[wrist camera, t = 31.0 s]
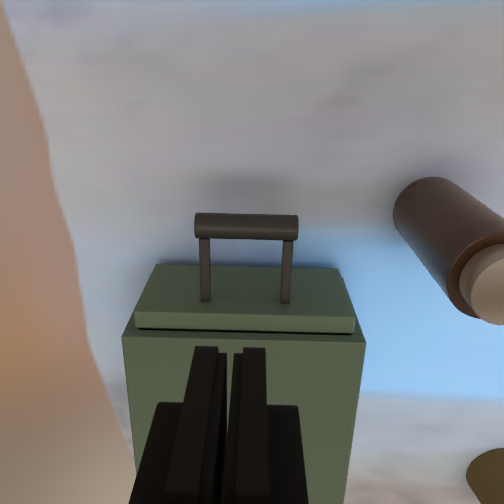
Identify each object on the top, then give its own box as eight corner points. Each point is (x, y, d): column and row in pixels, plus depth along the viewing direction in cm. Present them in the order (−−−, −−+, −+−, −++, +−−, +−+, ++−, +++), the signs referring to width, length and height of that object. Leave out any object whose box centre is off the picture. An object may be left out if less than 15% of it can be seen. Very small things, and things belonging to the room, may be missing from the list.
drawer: (150, 187, 32) (124, 221, 26) (346, 192, 32) (367, 227, 26) (167, 424, 41) (150, 493, 34) (321, 429, 41) (332, 498, 34)
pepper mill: (398, 175, 32) (469, 242, 21) (470, 177, 32) (579, 245, 21) (388, 242, 34) (449, 334, 23) (456, 244, 34) (549, 337, 23)
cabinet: (151, 272, 36) (121, 336, 28) (343, 277, 36) (366, 342, 28) (163, 436, 42) (141, 525, 35) (324, 441, 42) (339, 531, 34)
